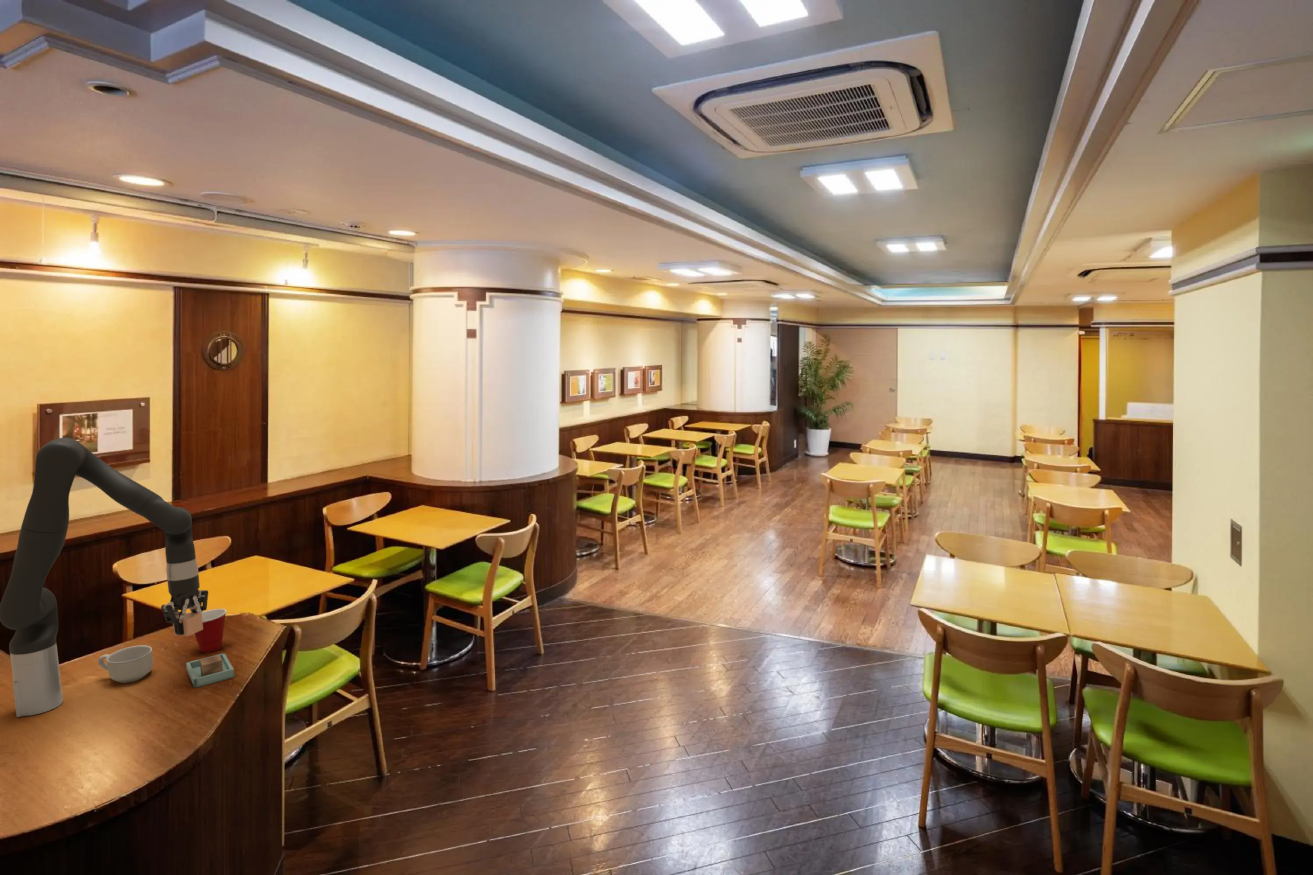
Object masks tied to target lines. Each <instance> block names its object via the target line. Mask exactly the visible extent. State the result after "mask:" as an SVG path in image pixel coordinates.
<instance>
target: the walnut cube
mask: <svg viewBox="0 0 1313 875" xmlns="http://www.w3.org/2000/svg"><path fill="white" fill-rule="evenodd" d="M216 655H217V656H215V655H212V656H213V657H211V656H208V657H209V658H207V657H204V658H205V659H203V658H200V659H201V660H200V669H201V677H202V676H206V675H210V674H214V673H217V672H221V671H223V664H222V659H221V657H220V655H219V654H216Z"/></svg>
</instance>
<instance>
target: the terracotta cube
mask: <svg viewBox="0 0 1313 875" xmlns="http://www.w3.org/2000/svg"><path fill="white" fill-rule="evenodd" d="M178 618H179V615H178ZM183 627H184V634H183V635H177V634H176V633H175V629H174V623H172V628H173V636H180V637H181V636H182V637H190V636H192V635H195V633H196V632H198V631H201V630H203V623H202V613H191V612H187V611H186V614H185V615H184V617H183Z"/></svg>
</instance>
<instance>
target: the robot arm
mask: <svg viewBox="0 0 1313 875" xmlns="http://www.w3.org/2000/svg"><path fill="white" fill-rule="evenodd" d="M34 464H35V467H34V468H35V469H34V479H33V486H32V492H31V495H30V499H29V500H28V504H27V507H26V510H25V512H24V516H23V520H22V521H21V522H22V523H21V527H20V531H19V535H18V541H17V546H16V550H15V554H14V558H13V563H12V568H11V572H10V573H11V574H10V576H9V580H8V582H7V585H6V588H5V591H4V592H3V596H2V599H1V601H0V623H1V624H2V625H3V626H4V627H5V628H8V629H10V630H13V631H15V632H14V635H13V637H12V638H11V639H10V641H9V644H8V645H9V646H8V647H9V649H8V650H9V656H10V663H11V664H10V665H11V671H12V672H11V673H12V674H11V675H12V680H13V681H12V689H13V697H14V706H15V714H16V718H20V717H27V716H35V715H40V714H42V713H47V712H49V711H51V710H53V709H56V708H57V707H59V706H61V705H62V704H63V701H64V700H63V690H62V681H61V680H62V679H61V673H60V665H59V664H60V662H59V655H58V646H57V635H58V631H59V612H58V602H57V599H56V596H55V594H54V593H53V591H51V590H50V589H48V588H47V587H44V584H45V580H46V578H47V576H48V574H49V572H50V571H51V569H52V567H53V565H54V564H55V562H56V560H57V559H58V557H59V555H60V554H61V552H62V549H63V548H64V545H65V542H66V537H67V534H68V529H69V523H70V505H69V504H70V503H69V502H70V500H69V499H70V498H69V497H70V492H71V489H72V486H73V483H74V481H75V480H74V479H75V477H76V476H77V477H79V478H81V479H84V480H85V481H87V482H89V483H91V484H92V485H94V486H95V487H97V488H98V489H99V490H101V491H102V492H103V493H104V494H106V496H108V497H109V498H110V499H112V500H113V501H114V502H116V503H117V504H119V505H120V506H122V507H123V508H126V509H128V510H129V511H131V512H133V513H135V514H136V515H138V516H140V517H143V518H144V519H146V520H147V521H149V523H151V524H153V525H154V526H155V527H157V528H159V529H160V530H162V531H163V532H164V537H165V538H164V539H165V546H164V547H165V560H166V562H165V563H166V569H165V571H166V580H167V589H168V591H167V592H168V593H169V594H170V600H169V602H167V603H166V604H162V605H161V606H160V608H161V611H162V613H163V616H164V619H165V622H166V624H173V623H174V629H175V633H176V634H177V635H176V636H179V635H183V634H184V627H183V617H184V615H185V614H186V613H187V610H188V609H189V611H190V613H202V612H204V611H207V608H208V599H209V590H207V589H206V590H205V589H200V577H199V576H200V575H199V574H200V573H199V567H198V561H197V558H196V557H197V556H196V548H195V543H194V539H193V522H192V519H193V518H192V514H191V512H190V511H189V510H187V509H186V508H185V507H181V506H174V505H173V504H171V503H169V502H167V501H166V500H164V498H163V497H162V496H160V495H159V494H158V493H156V492H154V491H153V490H151V489H150V488H147V487H146V486H144V485H142V484H140V483H138V482H136V481H135V480H133V479H132V478H130V477H128V476H126V475H125V474H123V473H121V472H120V471H118V470H117V469H115V468H114V467H112V466H110V465H109V464H108V463H106V462H105V461H104V460H102V459H100V457H98V456H97V455H96V454H94V452H92V451H91V450H90V449H88V448H86V446H84V445H83V444H82V443H80V441H78V440H76V439H73V438H70V437H59V438H54V439H52V440H50V441H49V442H47V443H45V444H44V445H42V447H41V448H40V449H38V451H37V453H36V457H35V463H34ZM199 589H200V590H199ZM178 616H179V618H178Z"/></svg>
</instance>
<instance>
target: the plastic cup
mask: <svg viewBox="0 0 1313 875" xmlns="http://www.w3.org/2000/svg"><path fill="white" fill-rule="evenodd" d="M226 615H227V609H225V608H214V609H209V610H204V611H202V623H203V630H201V631H198V632H196V633H194V636H195V640H196V641H197V644H198V647H199V651H200V652H201V653H212V652H213V653H214V652H215V651H218V650H220V649H221V648H222V646H223V638H224V628H225V620H226Z"/></svg>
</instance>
